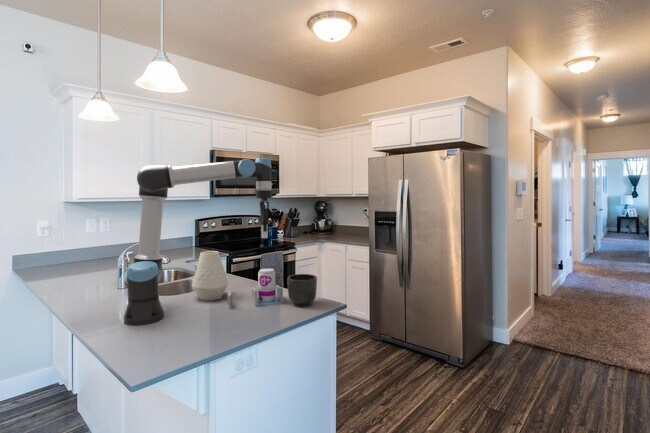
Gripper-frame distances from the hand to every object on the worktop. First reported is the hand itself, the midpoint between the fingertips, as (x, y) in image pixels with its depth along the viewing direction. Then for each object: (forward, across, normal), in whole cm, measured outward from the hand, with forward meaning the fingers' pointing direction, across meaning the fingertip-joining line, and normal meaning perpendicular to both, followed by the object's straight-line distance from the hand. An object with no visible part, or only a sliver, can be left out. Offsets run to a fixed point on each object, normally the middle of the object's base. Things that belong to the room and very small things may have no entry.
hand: (264, 237), depth 183 cm
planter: (+31, -15, -15) cm, 37 cm away
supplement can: (+30, -5, 0) cm, 31 cm away
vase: (+31, +11, +26) cm, 42 cm away
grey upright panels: (+30, -5, +6) cm, 31 cm away
